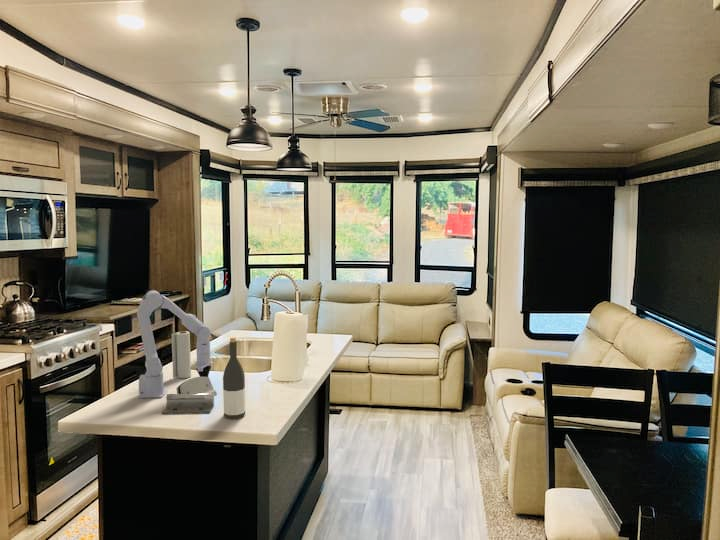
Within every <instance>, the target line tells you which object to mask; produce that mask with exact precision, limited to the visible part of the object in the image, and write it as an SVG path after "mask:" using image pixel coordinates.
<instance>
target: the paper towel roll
mask: <svg viewBox="0 0 720 540" xmlns="http://www.w3.org/2000/svg"><path fill="white" fill-rule="evenodd" d="M190 333H191V331H187V330H186V331H178V332H174V333H171V353H172V355H171V357H172V358H171V359H172V379H175V378H178V379H188V378H190V377H192V367H191V366H192V364H191V363H192V362H191V359H192V358H191V334H190Z"/></svg>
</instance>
